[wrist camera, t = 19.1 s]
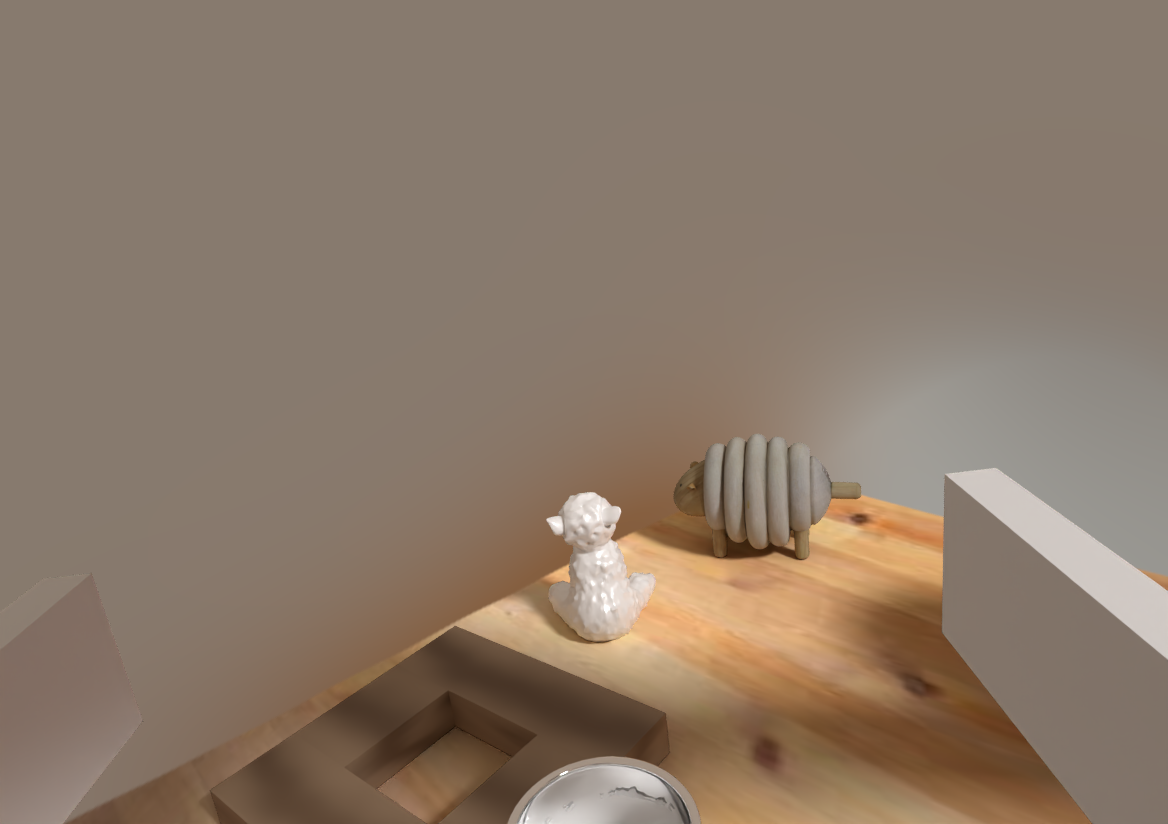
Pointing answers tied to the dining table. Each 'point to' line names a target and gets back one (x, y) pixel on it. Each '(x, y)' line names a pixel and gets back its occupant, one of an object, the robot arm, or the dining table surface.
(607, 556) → the seated beast figurine
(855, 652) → the dining table surface
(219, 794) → the pocket board
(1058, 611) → the robot arm
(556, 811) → the silver tumbler
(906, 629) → the dining table surface
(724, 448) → the toy sheep
